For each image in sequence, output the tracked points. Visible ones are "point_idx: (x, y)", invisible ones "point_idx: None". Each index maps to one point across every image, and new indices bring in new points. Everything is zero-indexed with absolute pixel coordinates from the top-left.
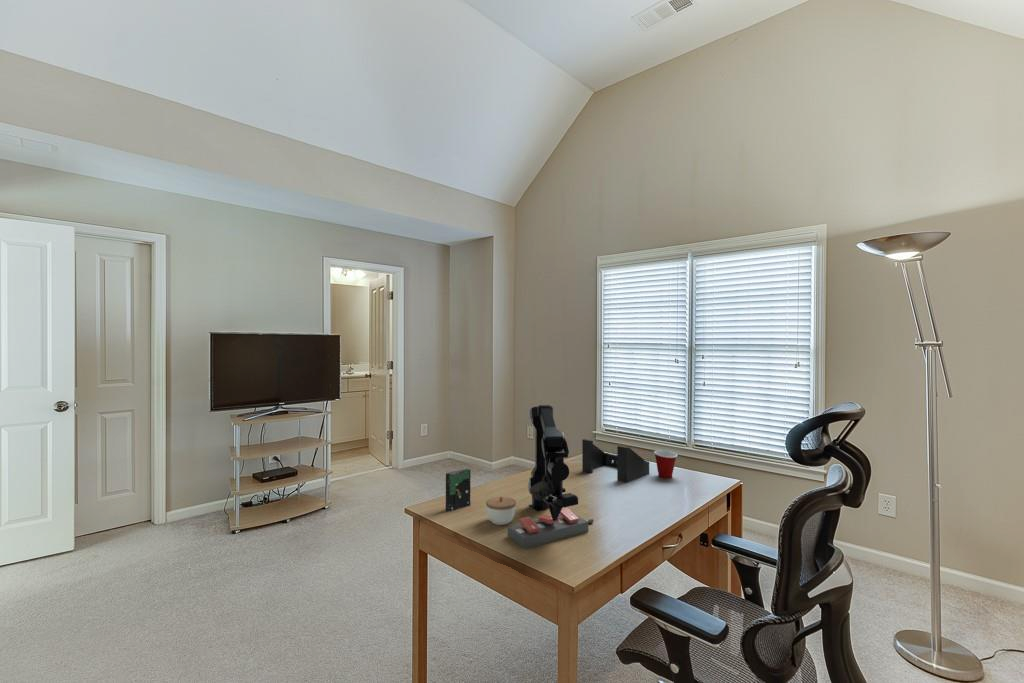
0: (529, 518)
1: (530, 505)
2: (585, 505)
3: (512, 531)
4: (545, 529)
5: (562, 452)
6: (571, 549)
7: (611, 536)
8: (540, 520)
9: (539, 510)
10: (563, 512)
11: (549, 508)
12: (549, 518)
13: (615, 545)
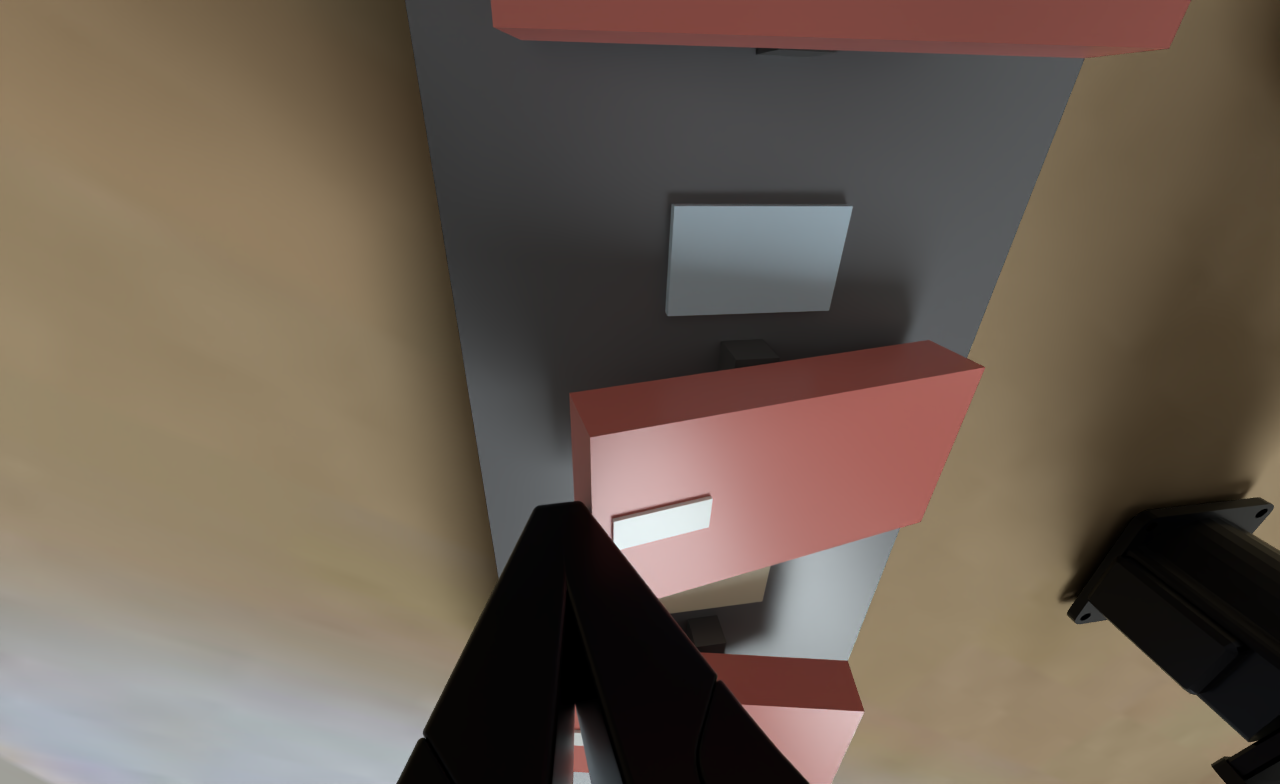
0: (1064, 9)
1: (1254, 513)
2: (901, 770)
3: None
4: (577, 259)
5: None
6: (142, 371)
7: (371, 757)
8: (879, 353)
9: (1128, 531)
10: (763, 720)
11: (732, 746)
12: (712, 485)
13: (169, 734)
